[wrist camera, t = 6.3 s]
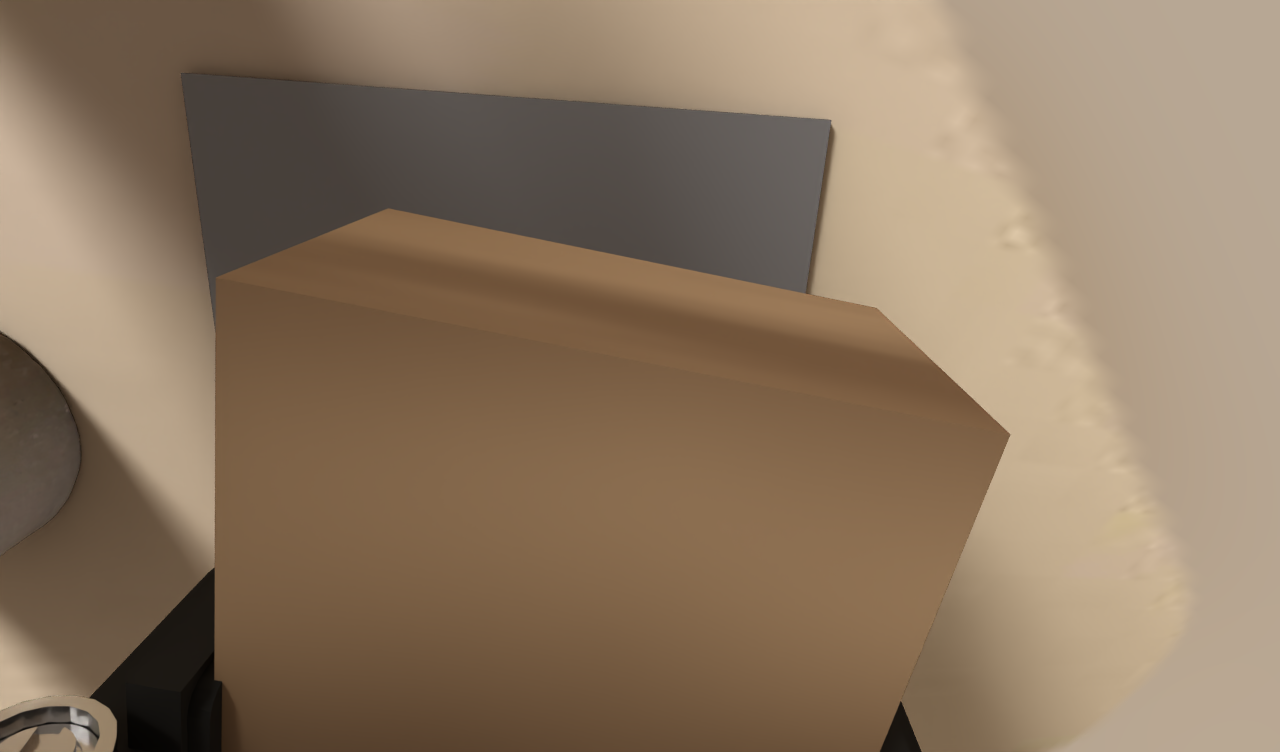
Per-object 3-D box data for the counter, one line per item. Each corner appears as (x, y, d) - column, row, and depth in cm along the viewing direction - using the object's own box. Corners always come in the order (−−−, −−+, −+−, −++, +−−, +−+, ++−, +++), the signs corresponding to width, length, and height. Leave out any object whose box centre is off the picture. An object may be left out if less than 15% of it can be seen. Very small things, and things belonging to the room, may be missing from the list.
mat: (188, 73, 23) (176, 72, 23) (828, 120, 23) (832, 120, 23) (273, 721, 32) (266, 732, 32) (735, 753, 32) (736, 764, 32)
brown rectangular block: (388, 208, 10) (204, 281, 6) (877, 308, 10) (1018, 441, 6) (337, 820, 13) (206, 1116, 9) (692, 878, 14) (706, 1188, 10)
